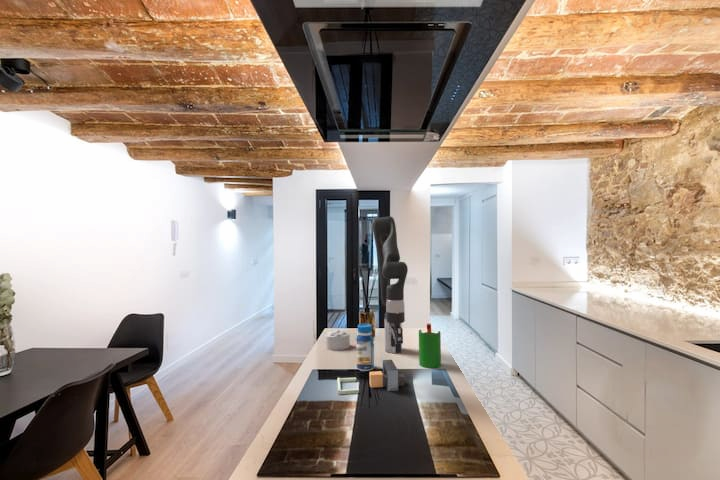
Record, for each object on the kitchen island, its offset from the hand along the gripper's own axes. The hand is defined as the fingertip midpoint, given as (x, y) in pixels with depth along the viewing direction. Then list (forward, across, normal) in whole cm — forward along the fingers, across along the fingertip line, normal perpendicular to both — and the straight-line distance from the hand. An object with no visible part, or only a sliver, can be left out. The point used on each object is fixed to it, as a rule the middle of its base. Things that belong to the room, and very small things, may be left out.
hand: (395, 349), depth 134 cm
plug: (+14, 0, -4) cm, 15 cm away
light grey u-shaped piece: (+14, -1, -20) cm, 24 cm away
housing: (+14, 0, -3) cm, 14 cm away
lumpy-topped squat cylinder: (+14, -53, -21) cm, 59 cm away
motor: (+14, -19, +21) cm, 32 cm away
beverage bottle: (+14, -19, -10) cm, 26 cm away
